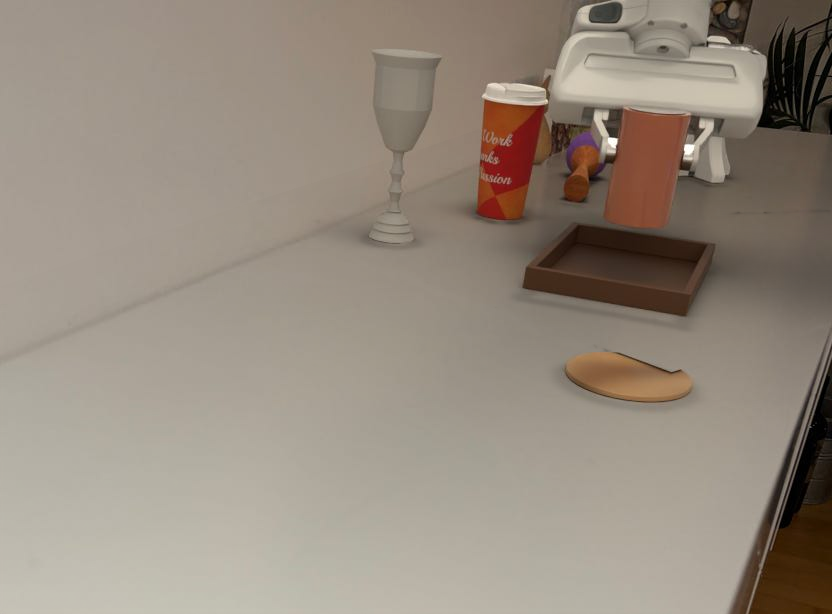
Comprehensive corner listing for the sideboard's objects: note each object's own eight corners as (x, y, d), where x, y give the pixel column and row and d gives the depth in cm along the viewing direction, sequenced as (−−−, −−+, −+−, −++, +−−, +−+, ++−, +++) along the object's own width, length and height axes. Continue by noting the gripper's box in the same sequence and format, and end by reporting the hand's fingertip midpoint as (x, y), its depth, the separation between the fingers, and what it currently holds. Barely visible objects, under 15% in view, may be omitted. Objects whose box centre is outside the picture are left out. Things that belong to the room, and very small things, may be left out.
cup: (681, 224, 108) (705, 112, 102) (642, 231, 104) (665, 116, 98) (629, 210, 112) (649, 102, 106) (590, 217, 108) (609, 105, 102)
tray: (684, 322, 101) (690, 294, 99) (521, 293, 105) (525, 266, 103) (710, 268, 118) (716, 243, 116) (569, 245, 122) (573, 221, 120)
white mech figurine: (689, 185, 155) (721, 42, 145) (636, 165, 165) (663, 31, 155) (755, 183, 159) (791, 45, 149) (700, 164, 169) (730, 33, 159)
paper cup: (457, 206, 134) (472, 81, 126) (512, 205, 137) (530, 82, 129) (485, 222, 128) (502, 91, 120) (542, 221, 131) (562, 92, 123)
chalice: (352, 239, 118) (364, 53, 108) (366, 226, 123) (379, 47, 113) (418, 248, 116) (436, 60, 106) (429, 234, 122) (447, 54, 112)
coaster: (715, 385, 87) (716, 380, 87) (641, 411, 81) (642, 406, 81) (615, 348, 93) (616, 344, 93) (540, 370, 87) (540, 365, 87)
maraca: (552, 166, 139) (567, 129, 155) (553, 213, 143) (568, 173, 158) (599, 162, 138) (610, 125, 153) (599, 210, 141) (610, 170, 156)
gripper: (758, 70, 109) (747, 193, 106) (554, 54, 111) (538, 174, 108) (778, 23, 103) (767, 152, 100) (562, 6, 105) (545, 132, 102)
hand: (646, 163), depth 104 cm, fingers closed on cup, 6 cm apart
